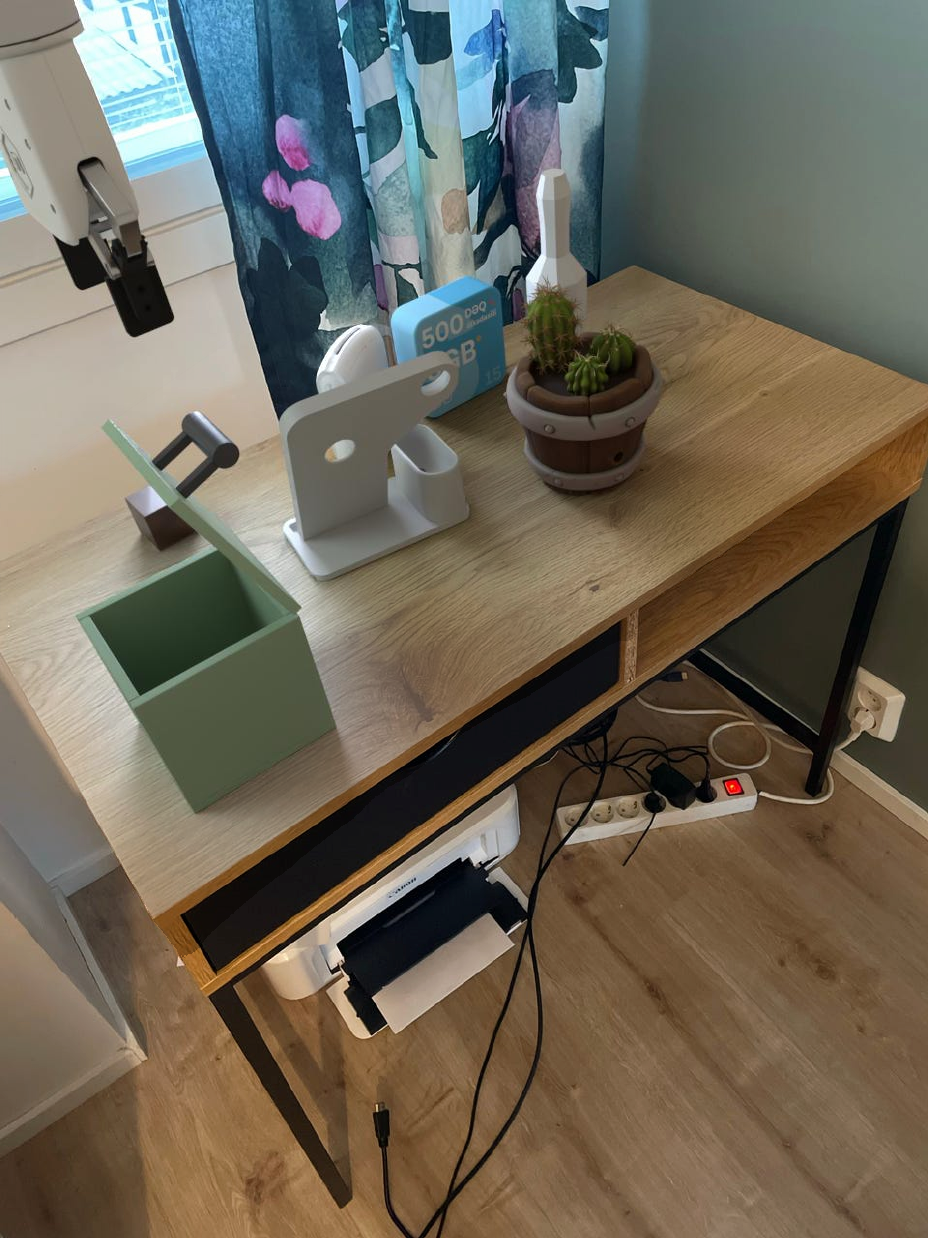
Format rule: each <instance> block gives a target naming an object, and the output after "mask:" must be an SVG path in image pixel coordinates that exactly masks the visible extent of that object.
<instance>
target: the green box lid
mask: <svg viewBox="0 0 928 1238" xmlns="http://www.w3.org/2000/svg"><path fill="white" fill-rule="evenodd" d="M180 427H181V432H180V433H179V434H178V435H177V436H175V438H174V439H172V440H171V441H170V442H169V444H167V445H166V446H165V447H164V448H163V449H162V450H161V451H160V452H159V453H158V454H157V455H156V456H155V457H153V456H152V455H150V454H149V453H148V452H146V451H145V450H144V449H143V448H142V447H141V446H140V445H139V444H138V443H137V442H135V440H133V439H132V438H131V437H130V436H129V435H128V434H127V433H126V432H125V431H124V430H122V429H121V428H120V427H119V426H118V425H117V424H116V423H115V422H113V420H111V419H108V420H107V421H105V422H104V423H103V424H102V425H101V427H100V429H101V430H102V431H103V432H104V433H105V434H106V436H108V438H109V439H110V440H111V441H112V443H113V444H114V445H115V446H116V448H118V449H119V451H120V452H121V453H122V454H123V456H125V458H126V459H127V461H129V462H130V463H131V465H132V466H133V467H134V468H135V469H136V471H137V472H138V473H139V474H140V476H142V478H143V479H144V480H145V481H146V482H147V484H148V485H150V486H151V487H152V488H153V489H154V490H155V492H156V493H157V494H158V495H159V496H160V497H161V499H162V500H163V501H164V502H165V503H166V504H167V506H168V507H169V508H170V509H171V510H172V511H174V512H175V513H176V514H177V515H178V516H179V517H181V518H182V519H183V520H184V521H185V522H186V523H188V524H189V525H190V526H191V527H192V528H193V529H194V530H196V533H198V534H199V535H200V536H201V537H202V538H203V539H205V540H206V541H207V542H208V543H209V544H210V545H212V546H214V547H215V548H216V549H218V550H219V551H220V552H221V553H222V554H223V555H225V556H226V557H227V558H228V559H229V560H230V561H231V562H233V563H234V564H235V565H236V566H237V567H238V568H240V569H241V570H242V571H243V572H244V573H245V574H247V575H248V576H249V577H250V578H251V579H252V580H253V581H255V582H256V583H257V584H258V585H259V586H260V587H262V588H263V589H264V590H265V591H266V592H267V593H269V594H270V595H271V596H272V597H273V598H274V599H275V600H277V601H278V602H279V603H280V604H281V605H282V606H284V607H285V608H286V609H287V610H288V611H289V612H291V613H292V614H293V615H295V614H296V613H297V614H298V612H299V611H300V610H301V609H302V606H301V604H300V603H299V602H298V601H297V600H296V599H295V598H294V597H293V596H292V595H291V594H290V592H289V591H288V590H287V589H286V588H285V587H284V585H282V584H281V583H280V581H279V580H278V579H277V578H276V576H274V575H273V574H272V573H271V572H270V570H269V569H268V568H267V567H266V566H265V565H264V564H263V563H262V562H261V561H260V559H258V558H257V556H256V555H255V554H254V553H253V552H252V551H251V550H250V548H248V546H247V545H246V544H245V543H244V542H243V541H242V540H241V539H240V538H239V536H238V535H237V534H235V532H234V531H233V530H232V529H231V528H230V527H229V526H228V525H227V524H226V523H224V522H223V521H222V520H221V518H219V517H218V516H217V515H216V514H214V512H213V511H211V510H210V509H209V508H208V507H207V506H206V505H204V504H203V502H201V501H200V500H199V499H198V498H197V497H196V496H195V495H194V494H193V493H194V492H195V491H196V490H198V488H200V487H201V486H202V485H203V484H204V482H206V481H207V480H208V479H209V478H210V477H211V476H212V475H213V474H214V473H215V472H216V471H217V470H218V469H222V470H227V469H230V468H232V467H234V466H235V465H236V464H237V463H238V461H239V458H240V449H239V447H238V446H237V445H236V444H235V442H233V441H232V440H231V438H229V437H228V436H227V435H226V434H225V433H224V432H223V431H222V430H220V428H219V427H218V426H216V425H215V424H214V423H213V422H212V421H211V420H210V419H209V417H207V416H206V415H205V414H204V413H202V412H200V411H191V412H189V413H187V414H185V416H184V417H183V419H182V420H181V426H180ZM192 443H193V444H194V446H196V447H197V449H199V450H200V451H201V452H202V453H203V455H205V457H206V458H205V459H204V460H203V461H202V462H200V464H198V465H197V466H196V468H194V469H193V470H192V471H190V473H189V474H188V475H187V476H186V477H185V478H184V479H183V480H182V481H181V482H180V481H179V480H177V479H176V478H175V477H174V476H173V475H172V474H171V473H170V472H169V471H168V470H166V468H167V467H168V466H169V465H170V464H171V463H172V462H173V461H174V460H175V459H176V458H177V457H178V456H179V455H180V454H181V453H182V452H183V451H184V450H185V449H187V448H188V447H189V446H190V445H191V444H192Z"/></svg>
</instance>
